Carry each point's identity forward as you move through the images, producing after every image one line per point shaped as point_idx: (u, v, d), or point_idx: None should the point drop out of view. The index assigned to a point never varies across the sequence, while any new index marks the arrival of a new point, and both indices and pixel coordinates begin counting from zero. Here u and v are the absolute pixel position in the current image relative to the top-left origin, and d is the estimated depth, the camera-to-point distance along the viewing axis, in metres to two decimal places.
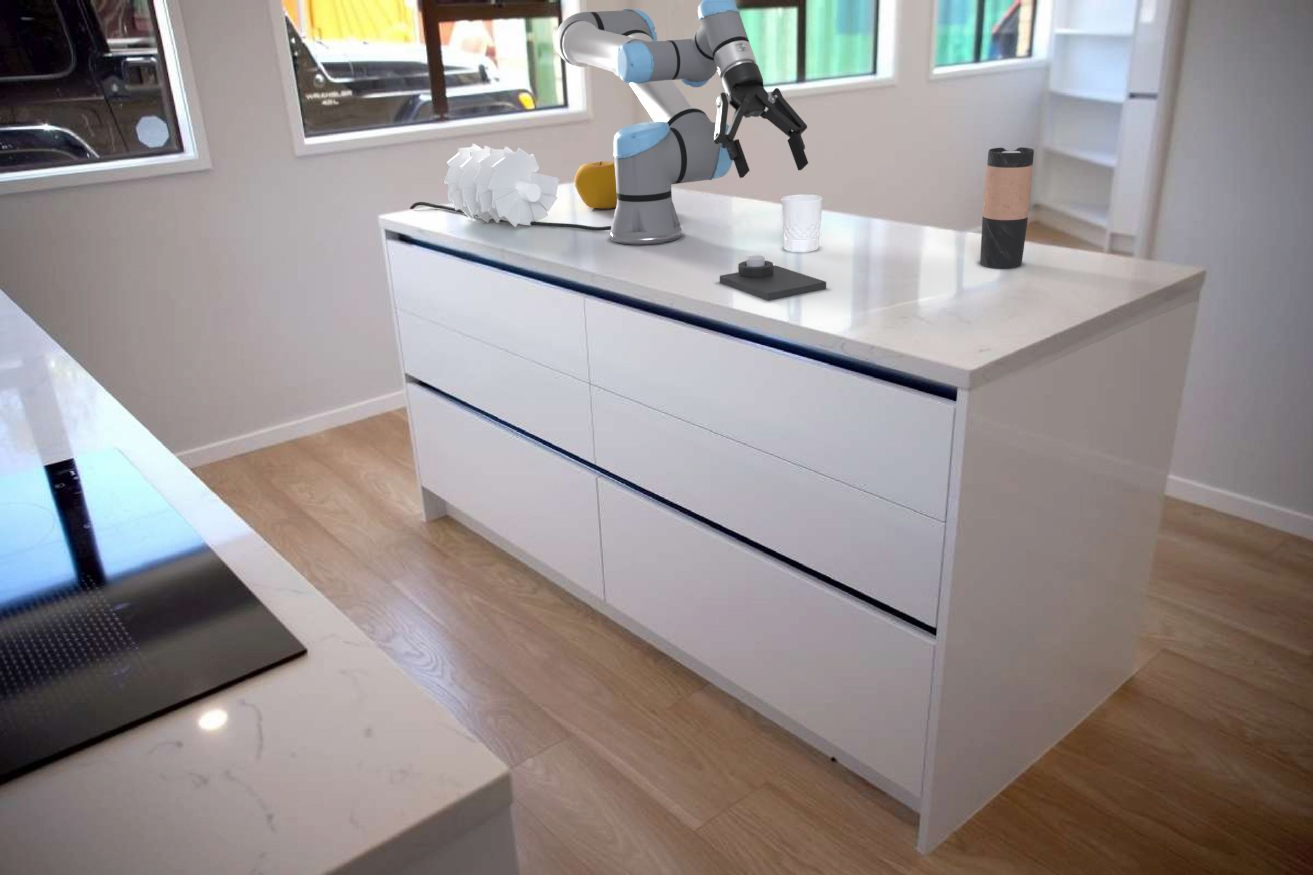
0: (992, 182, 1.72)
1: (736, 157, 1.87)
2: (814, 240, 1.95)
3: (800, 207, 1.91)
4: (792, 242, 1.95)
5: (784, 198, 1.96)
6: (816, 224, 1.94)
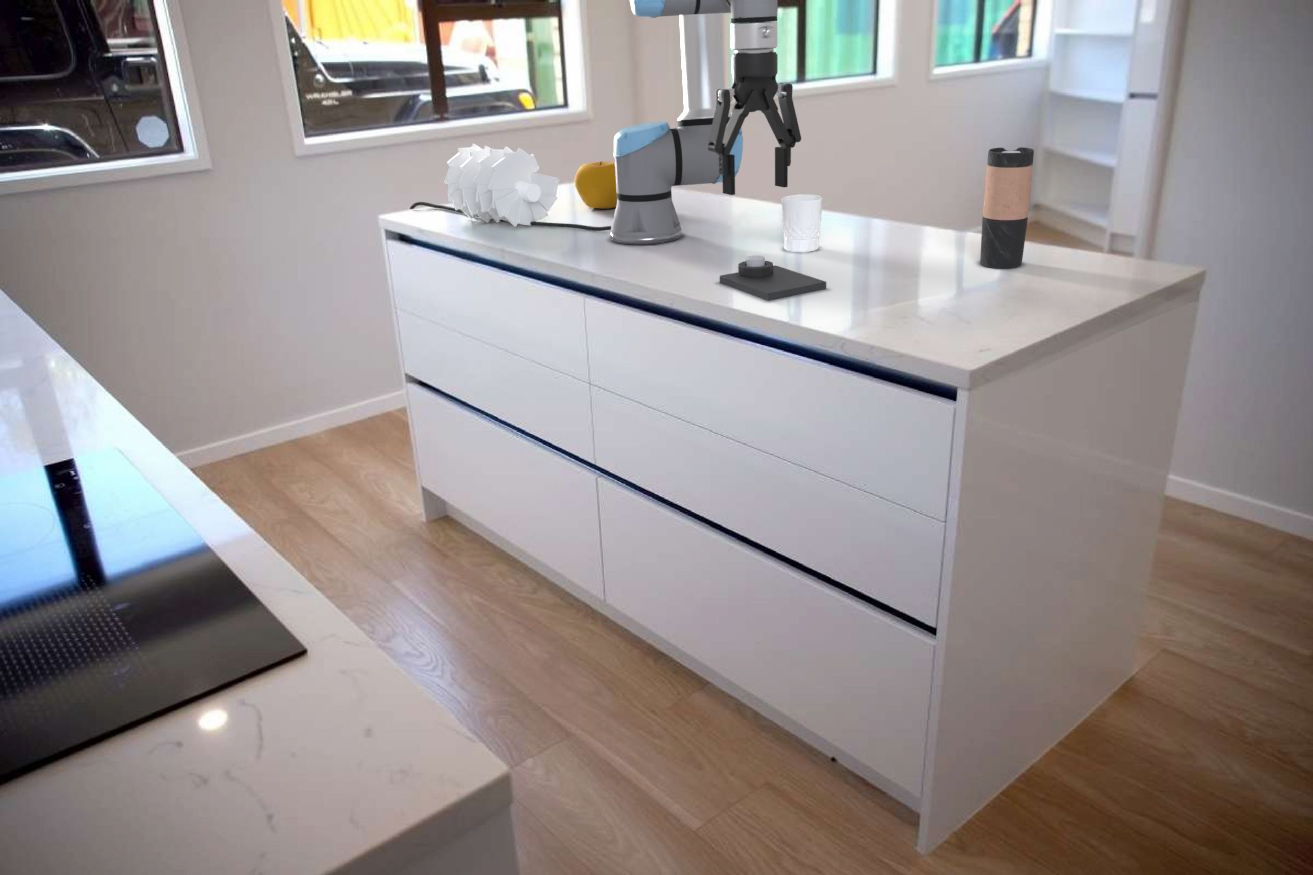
0: (992, 182, 1.72)
1: None
2: (814, 240, 1.95)
3: (800, 207, 1.91)
4: (792, 242, 1.95)
5: (784, 198, 1.96)
6: (816, 224, 1.94)
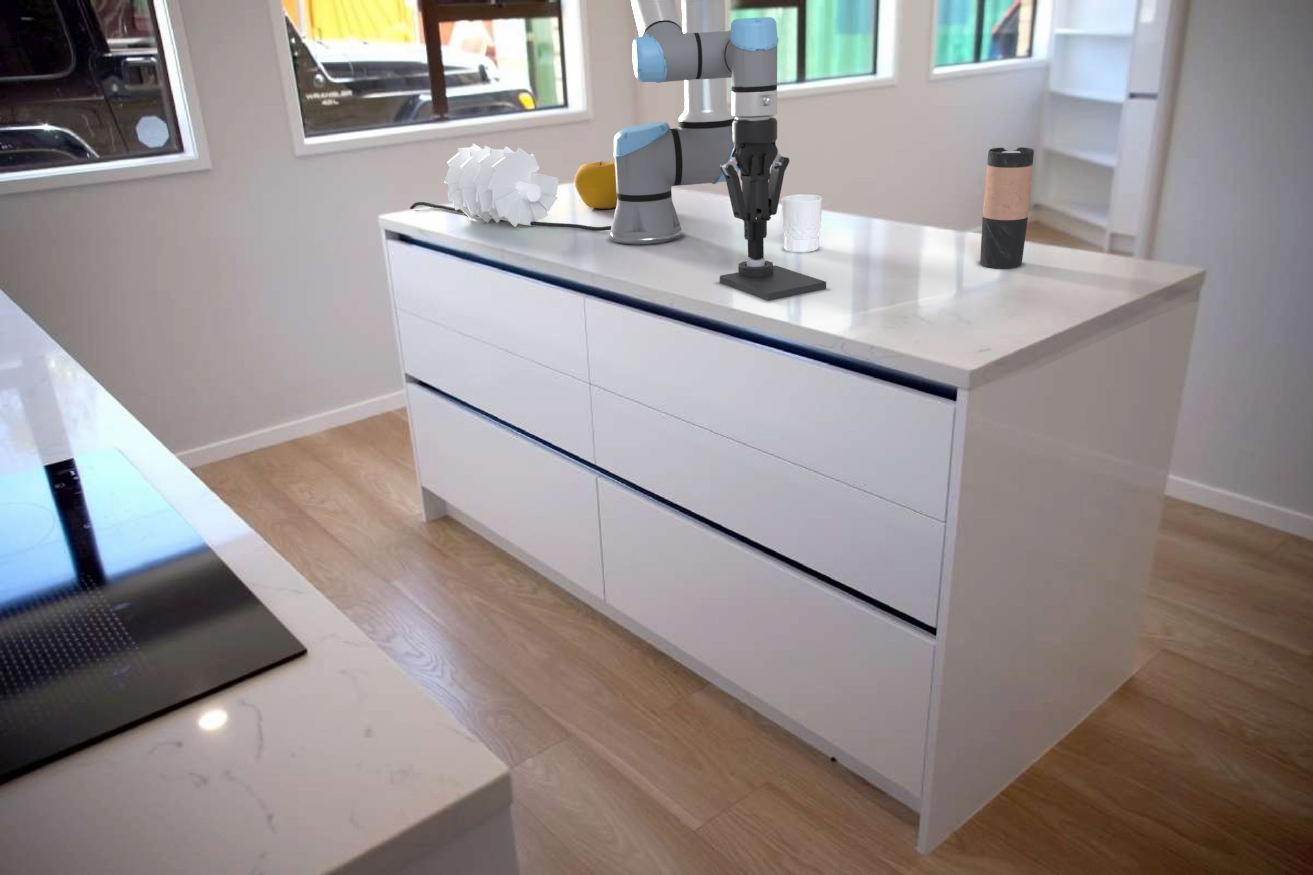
0: (992, 182, 1.72)
1: (751, 239, 1.73)
2: (814, 240, 1.95)
3: (800, 207, 1.91)
4: (792, 242, 1.95)
5: (784, 198, 1.96)
6: (816, 224, 1.94)
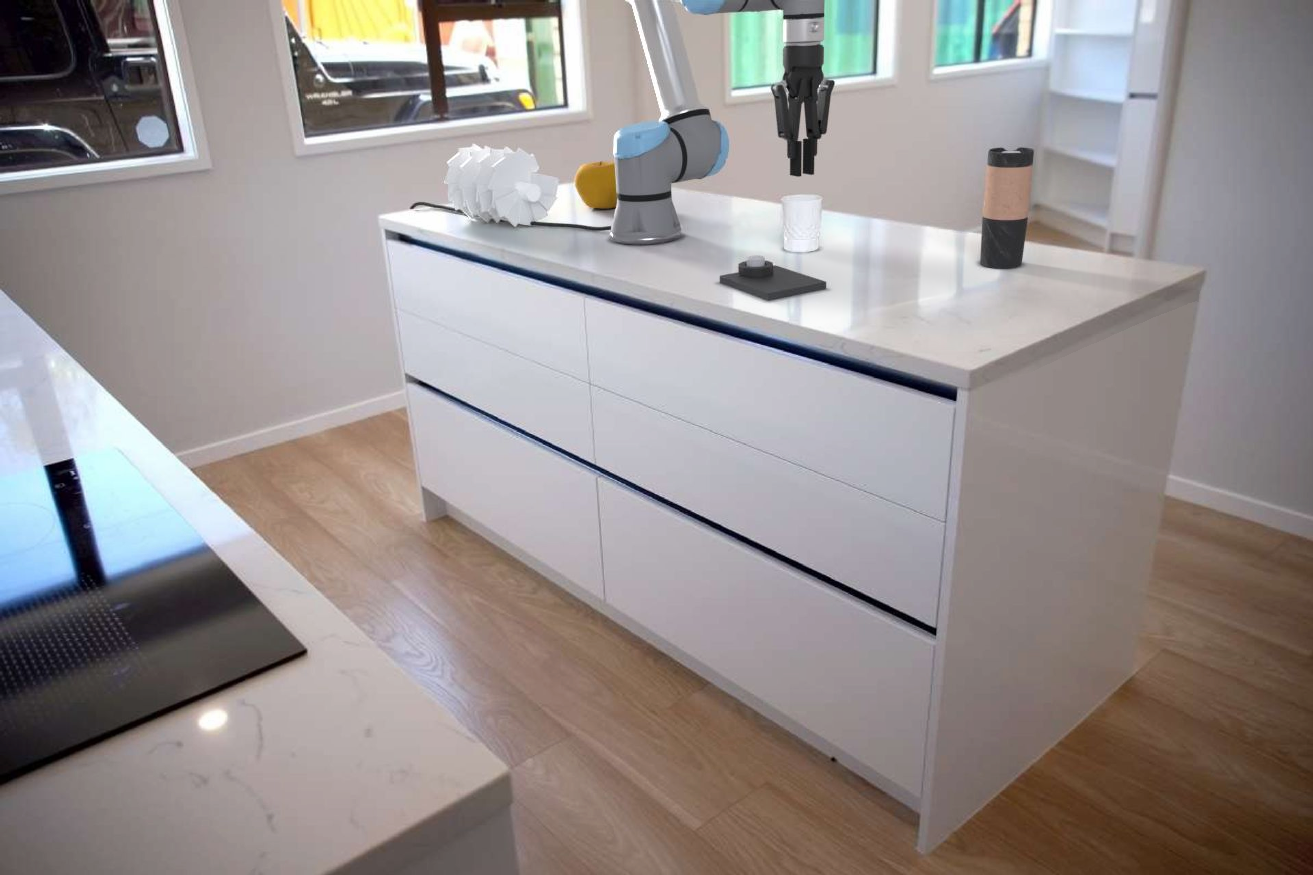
0: (992, 182, 1.72)
1: None
2: (814, 240, 1.95)
3: (800, 207, 1.91)
4: (792, 242, 1.95)
5: (784, 198, 1.96)
6: (816, 224, 1.94)
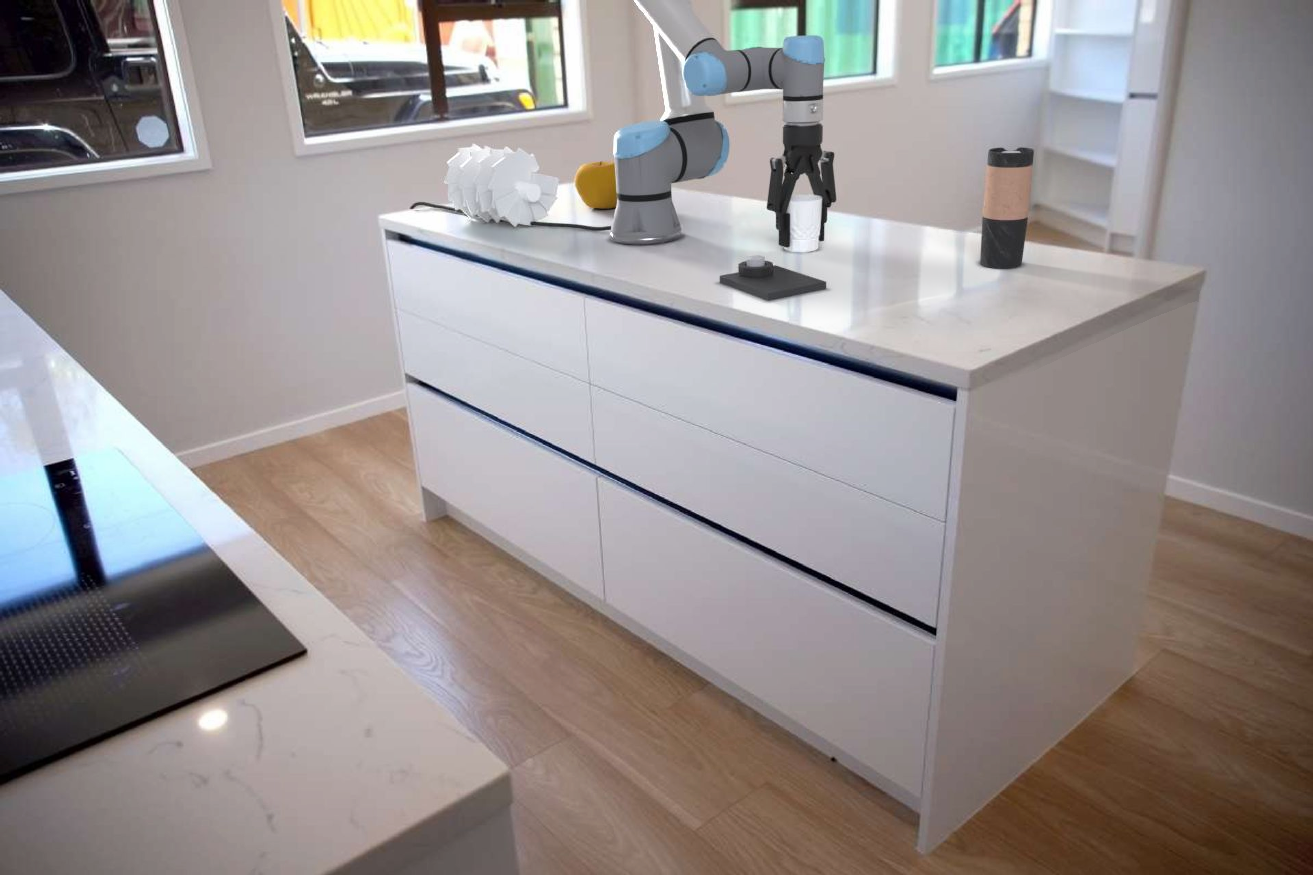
0: (992, 182, 1.72)
1: (782, 229, 1.94)
2: (814, 240, 1.95)
3: (800, 207, 1.91)
4: (792, 242, 1.95)
5: None
6: (816, 224, 1.94)
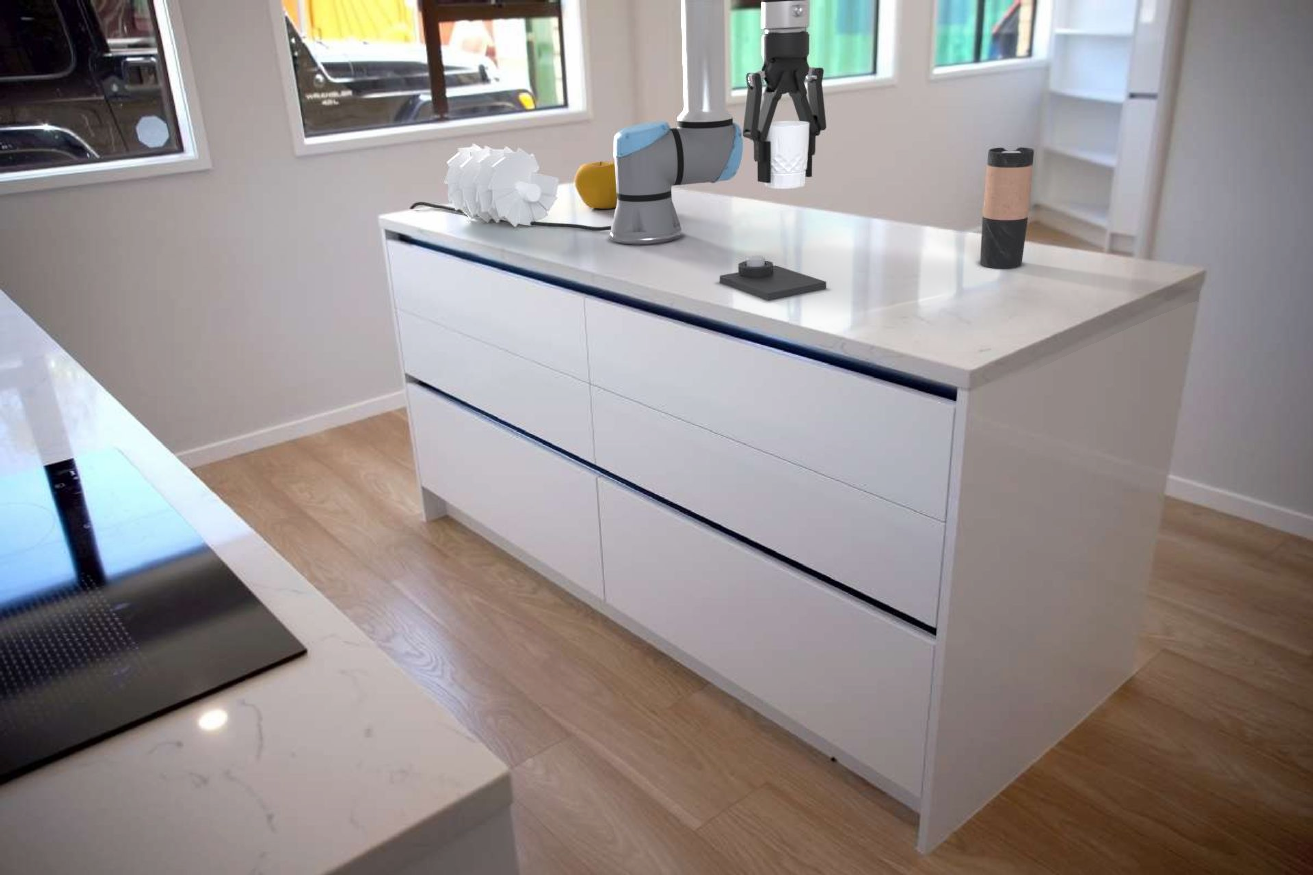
0: (992, 182, 1.72)
1: (761, 161, 1.62)
2: (800, 175, 1.63)
3: (782, 133, 1.59)
4: (773, 177, 1.63)
5: None
6: (802, 154, 1.62)
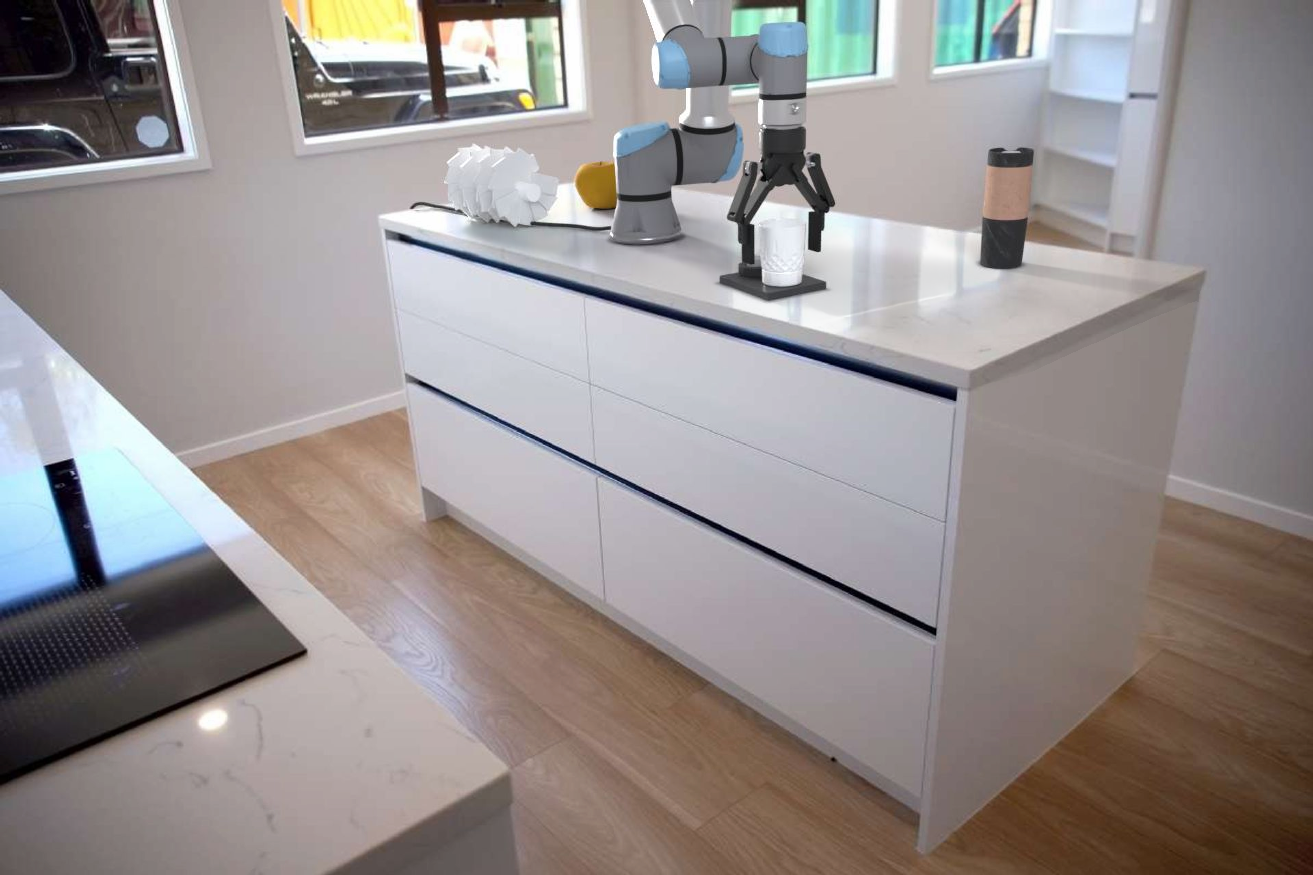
0: (992, 182, 1.72)
1: (745, 243, 1.63)
2: (796, 273, 1.67)
3: (780, 234, 1.63)
4: (771, 275, 1.67)
5: (762, 223, 1.68)
6: (799, 254, 1.65)
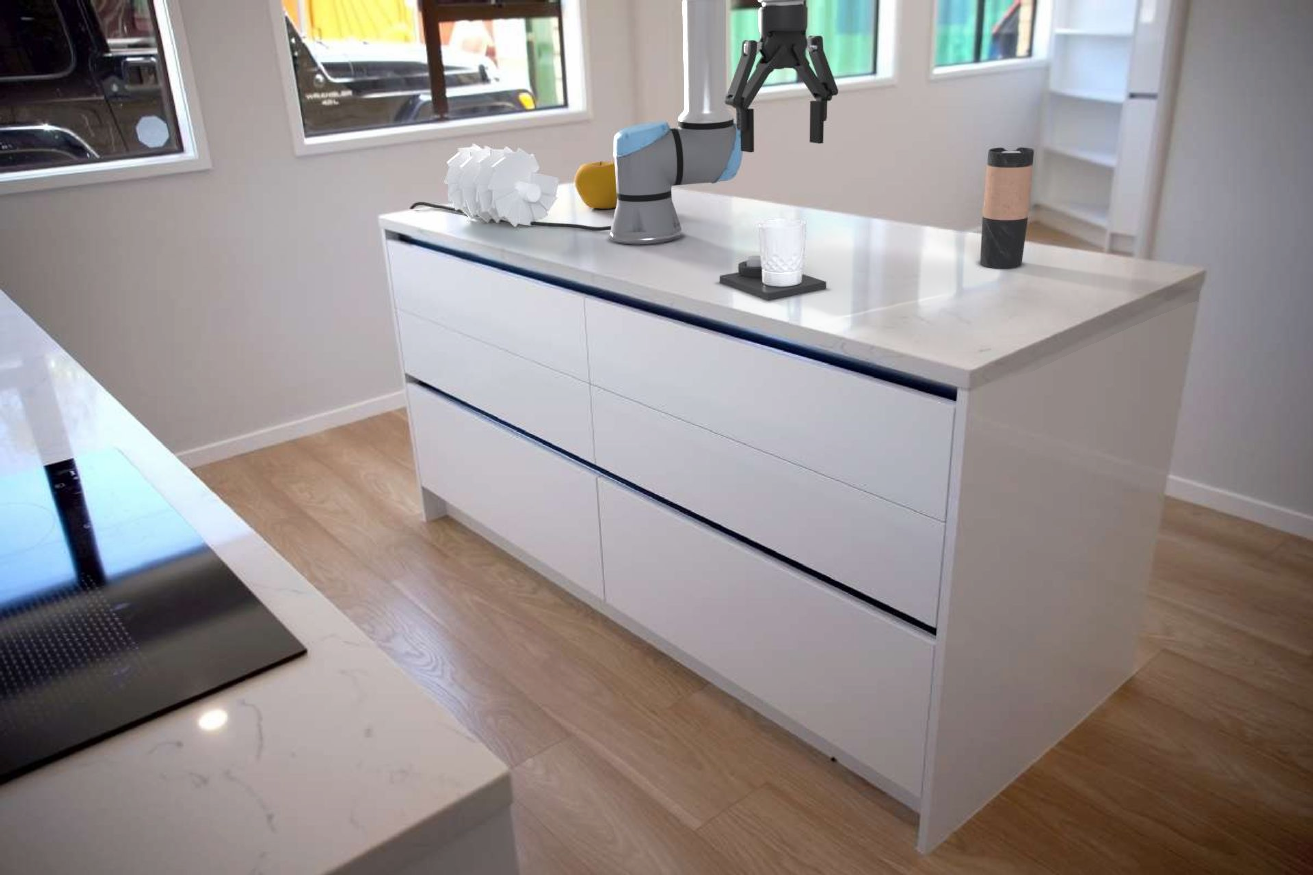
0: (992, 182, 1.72)
1: (744, 129, 1.56)
2: (796, 273, 1.67)
3: (780, 234, 1.63)
4: (771, 275, 1.67)
5: (762, 223, 1.68)
6: (799, 254, 1.65)
